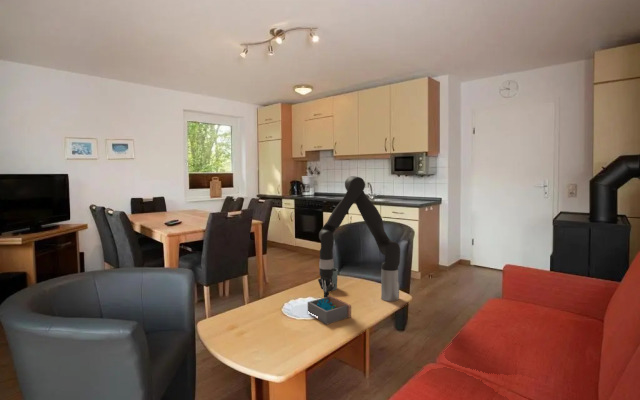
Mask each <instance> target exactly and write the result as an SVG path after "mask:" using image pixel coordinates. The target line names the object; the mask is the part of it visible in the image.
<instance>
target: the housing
mask: <svg viewBox="0 0 640 400" xmlns="http://www.w3.org/2000/svg"><path fill="white" fill-rule="evenodd" d="M322 299H325V300H324V302H326V300H327V299H328V300H329V297H325V298H324V297H322V298H317V299H314V300H310V301H307V312H308V311H309V312H310V313H312V314H314V315H316V316H318V319H317V320H318V321H320V322H322V323H323V324H325V325H329V324H332V323H335V322H338V321H342V320H344V319H347V318H348V317H347V305H345V306H342V307H338V308H335V309H332V310H328V311H326V310H324V309H322V308H320V307H319V306H317V304H318V303H319V302H318V301H319V300H321V303H322ZM327 303H329V301H328V302H327ZM319 304H320V303H319Z"/></svg>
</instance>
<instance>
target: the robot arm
mask: <svg viewBox="0 0 640 400" xmlns="http://www.w3.org/2000/svg"><path fill="white" fill-rule="evenodd" d="M344 188H345V190H346V193H345V195H344V196H343V198H342V199H341V200H340V202H339V203H338V204H337V205H336V207H334V209H333V210H332V212H331V214H330V215H329V217H328V219H327V221H326V223H325V224H324V225H323V226H322V228H321V229H320V231H319V232H318V239H319V240H320V248H319V261H318V262H319V264H318V265H319V266H318V267H319V270H318V272H319V276H320V278H318V279H317V281H318V283H319V286H320V290H323V298H325V297H328V295H330V292H333V291H334V290H333V288H334V287H335V284H333V282H332V276H333V268H334V255H333V254H334V253H333V250H334V244H335V243H334V242H335V238H334V232H336V230H337V229H339V228H340V227H341V224H342V223H343V221H344V219H345V217H346V215H347V214H348V212H349V211H350V209H351V208H352V206H353V205H354V203H355V205H356V208H357V210H358V211H359V214H360V215H361V218H362V219H363V221H364V223H365V225H366V226H367V227H368V229H369V231H370V233H371V235H372V236H373V238H374V240H375V242H376V245H377V248H378V250H379V252H380V254H382V255H383V256H384V262H382V263H381V271H380V273H381V274H380V275H381V277H380V278H381V279H380V280H381V281H380V282H381V289H380V291H381V292H380V293H381V295H380V298H381V300H383V301H386V302H395V301H397V300H398V299H400V282H399V266H400V261H401V247H400V244H399V243H398V242H396V241H393V240H391V239H390V237H389V236H388V234H387V233H386V232H385V228H384V221H383V217H382V215H381V214H380V212H379V210H378V209H377V207H376V206H375V205H374V203H373V202H372V201H371V200H370V199H369V197H368V196H367V194H366V193H365V191H364V190H365V188H366V183H365V180H364V178H362V177H359V176H355V175H353V176H351V175H350V176H347V178H346V179H345V181H344ZM332 290H333V291H332Z"/></svg>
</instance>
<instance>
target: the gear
mask: <svg viewBox="0 0 640 400" xmlns="http://www.w3.org/2000/svg"><path fill="white" fill-rule="evenodd" d="M324 300H325V299H322V303H321V300H319V301H318V302H319V303H320V304H319V303H318V304H317V306H319V307H320V308H322V309H324V310H326V311H328V310H332V309H334V308H335V307H336V305H334V306H330V305H332V302H330V303H327V302H328V301H329V300H328V299H327V300H326V302H324Z"/></svg>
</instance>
